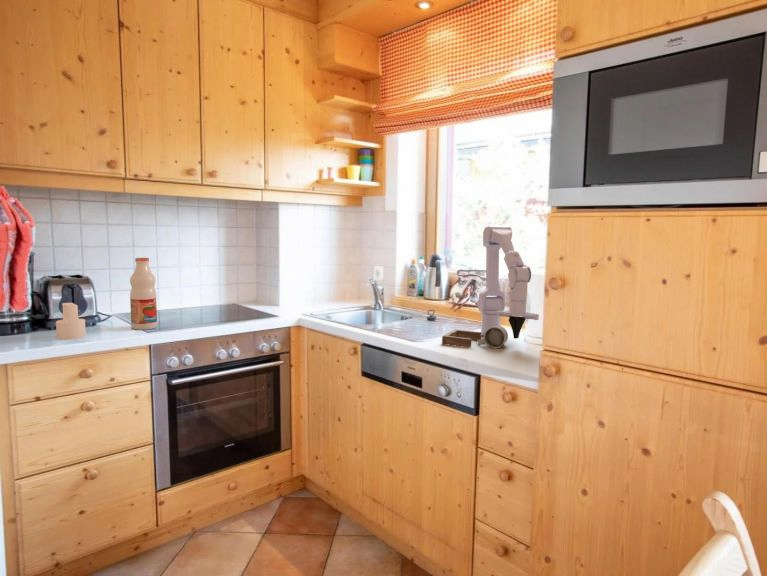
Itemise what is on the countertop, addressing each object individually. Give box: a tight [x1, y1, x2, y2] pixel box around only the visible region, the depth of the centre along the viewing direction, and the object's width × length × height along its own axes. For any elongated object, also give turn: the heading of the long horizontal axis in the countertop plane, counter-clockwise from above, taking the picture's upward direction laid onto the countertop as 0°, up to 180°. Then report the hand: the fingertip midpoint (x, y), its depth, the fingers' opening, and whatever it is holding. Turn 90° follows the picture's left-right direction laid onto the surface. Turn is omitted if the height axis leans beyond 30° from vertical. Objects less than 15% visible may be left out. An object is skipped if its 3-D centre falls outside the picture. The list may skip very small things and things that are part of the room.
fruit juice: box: [129, 257, 158, 331], centre depth 201 cm, size 9×9×28 cm
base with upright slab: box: [55, 302, 87, 341], centre depth 182 cm, size 9×9×12 cm
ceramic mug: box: [476, 325, 509, 349], centre depth 185 cm, size 11×8×8 cm
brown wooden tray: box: [441, 329, 482, 348], centre depth 190 cm, size 15×10×3 cm
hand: (516, 337), depth 181 cm, fingers closed
